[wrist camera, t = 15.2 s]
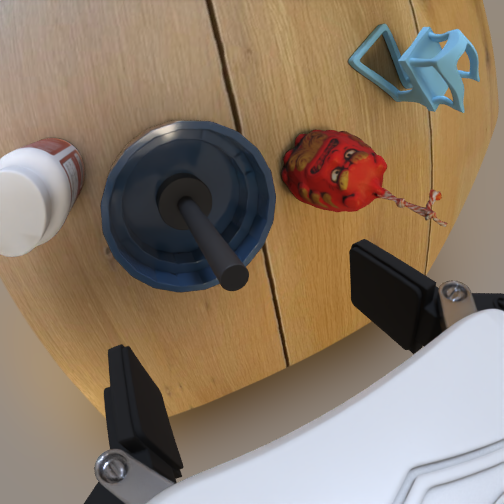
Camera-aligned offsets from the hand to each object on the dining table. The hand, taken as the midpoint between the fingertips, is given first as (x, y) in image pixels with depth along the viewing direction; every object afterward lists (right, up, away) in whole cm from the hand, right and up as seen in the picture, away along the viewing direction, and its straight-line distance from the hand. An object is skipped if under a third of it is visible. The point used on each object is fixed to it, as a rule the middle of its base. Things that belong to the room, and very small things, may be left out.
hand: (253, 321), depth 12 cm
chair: (+15, +23, +16) cm, 32 cm away
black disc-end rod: (-6, +7, +14) cm, 17 cm away
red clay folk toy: (+6, +11, +18) cm, 22 cm away
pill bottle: (-16, +9, +10) cm, 21 cm away
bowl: (-6, +8, +15) cm, 18 cm away
